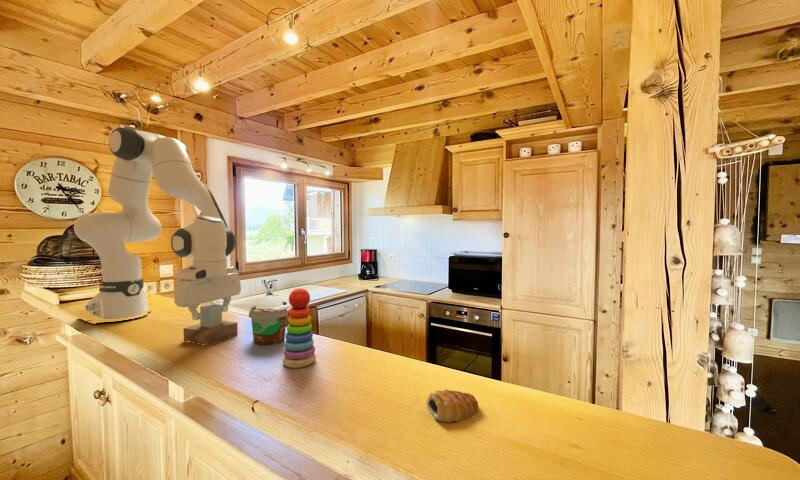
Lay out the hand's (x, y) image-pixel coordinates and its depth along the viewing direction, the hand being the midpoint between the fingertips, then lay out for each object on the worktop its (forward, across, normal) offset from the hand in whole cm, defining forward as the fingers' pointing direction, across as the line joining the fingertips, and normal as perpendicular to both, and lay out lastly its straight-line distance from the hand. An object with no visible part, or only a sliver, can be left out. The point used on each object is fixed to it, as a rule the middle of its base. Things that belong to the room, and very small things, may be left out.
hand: (211, 315), depth 97 cm
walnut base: (+7, 0, 0) cm, 7 cm away
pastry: (+8, +15, +76) cm, 78 cm away
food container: (+7, -2, +18) cm, 20 cm away
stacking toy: (+7, +6, +36) cm, 37 cm away
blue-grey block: (+3, 0, 0) cm, 3 cm away
